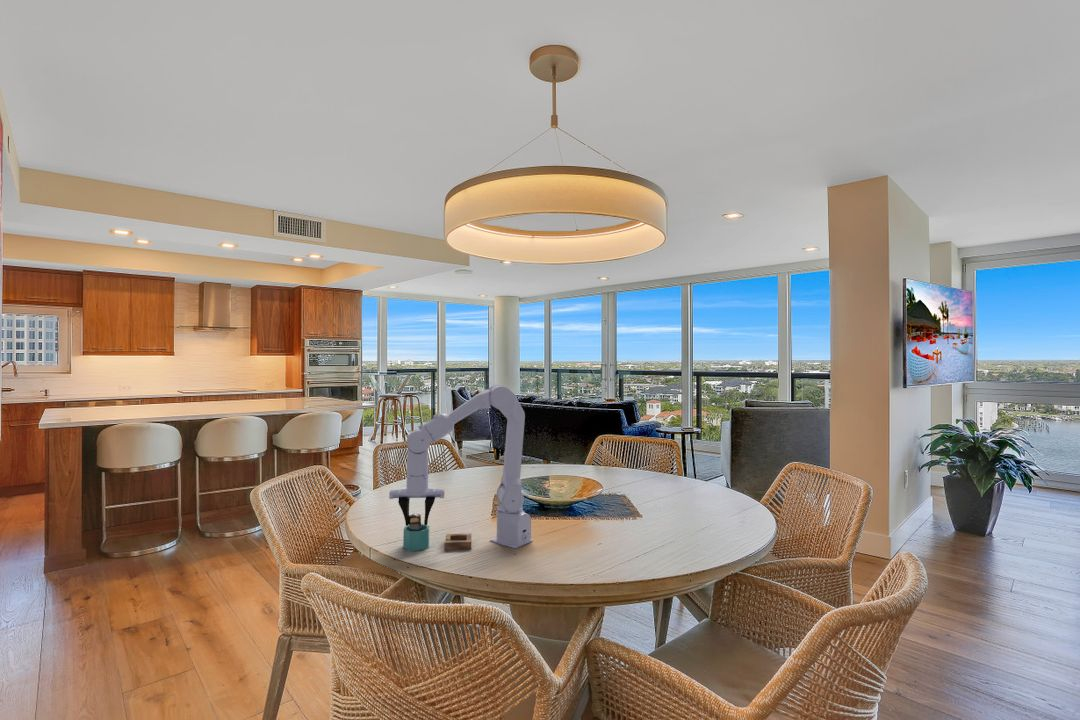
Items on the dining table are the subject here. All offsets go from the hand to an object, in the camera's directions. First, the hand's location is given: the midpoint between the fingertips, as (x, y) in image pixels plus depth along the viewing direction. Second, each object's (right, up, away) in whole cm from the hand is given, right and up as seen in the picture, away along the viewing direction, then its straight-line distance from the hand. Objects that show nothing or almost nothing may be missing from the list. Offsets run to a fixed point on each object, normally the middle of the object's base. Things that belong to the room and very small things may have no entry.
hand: (416, 524), depth 146 cm
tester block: (+11, -6, +1) cm, 13 cm away
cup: (0, -6, 0) cm, 6 cm away
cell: (0, -5, 0) cm, 5 cm away
